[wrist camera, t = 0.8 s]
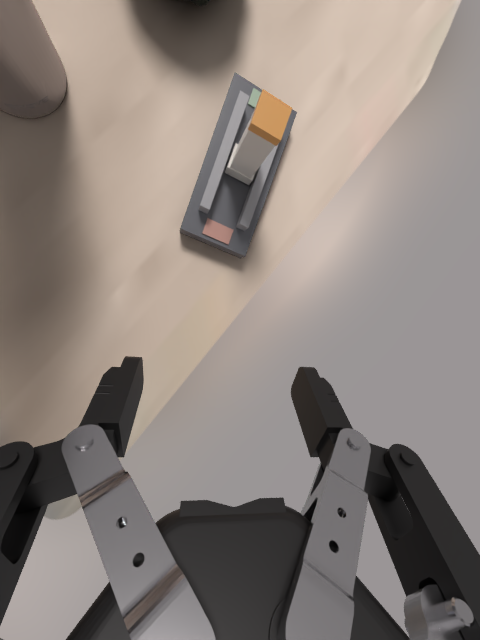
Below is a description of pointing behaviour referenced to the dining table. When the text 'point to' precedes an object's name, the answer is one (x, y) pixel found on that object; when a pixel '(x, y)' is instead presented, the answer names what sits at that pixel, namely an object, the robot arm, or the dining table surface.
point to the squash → (200, 2)
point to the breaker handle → (258, 137)
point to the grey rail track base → (231, 179)
